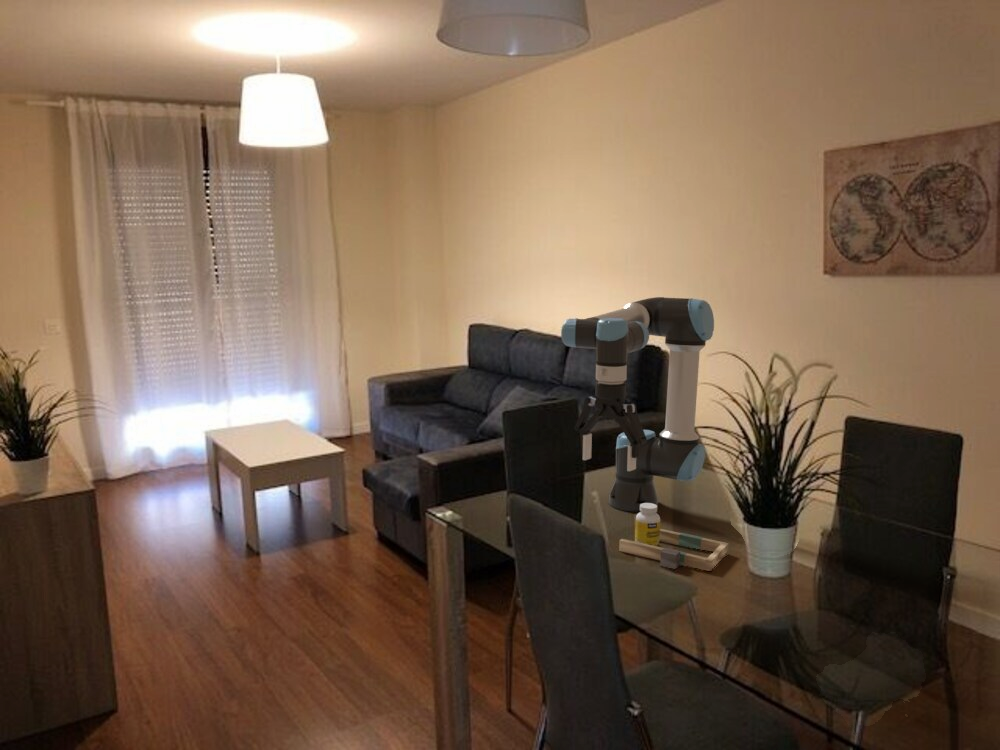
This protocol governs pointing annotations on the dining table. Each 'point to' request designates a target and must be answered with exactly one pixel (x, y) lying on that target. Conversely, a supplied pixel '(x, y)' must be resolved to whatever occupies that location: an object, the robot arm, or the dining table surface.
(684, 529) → the dining table surface
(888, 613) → the dining table surface
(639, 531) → the pill bottle
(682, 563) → the beam track
